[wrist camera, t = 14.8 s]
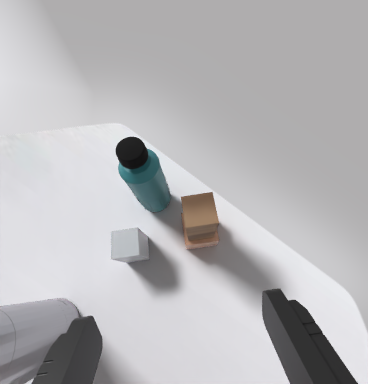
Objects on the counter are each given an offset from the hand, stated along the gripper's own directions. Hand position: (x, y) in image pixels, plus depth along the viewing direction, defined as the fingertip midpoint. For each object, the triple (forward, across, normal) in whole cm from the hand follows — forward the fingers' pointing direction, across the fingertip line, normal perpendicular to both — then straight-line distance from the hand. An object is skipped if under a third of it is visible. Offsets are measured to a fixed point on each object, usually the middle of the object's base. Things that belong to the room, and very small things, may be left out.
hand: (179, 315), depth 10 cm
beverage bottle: (+35, +5, +9) cm, 36 cm away
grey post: (+28, +10, +16) cm, 33 cm away
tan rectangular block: (+25, -3, +11) cm, 28 cm away
